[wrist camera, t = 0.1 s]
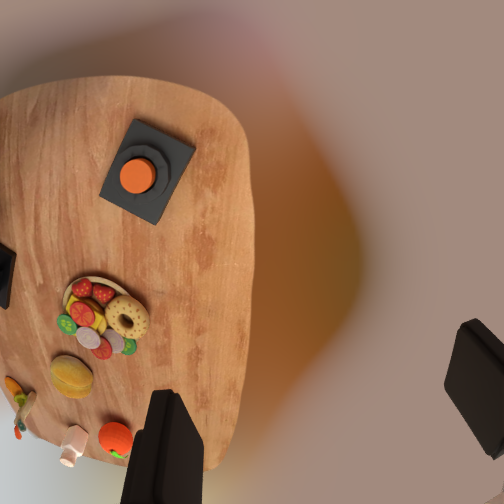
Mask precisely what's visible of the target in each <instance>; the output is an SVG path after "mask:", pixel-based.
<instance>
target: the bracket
mask: <svg viewBox="0 0 504 504" xmlns="http://www.w3.org/2000/svg"><path fill="white" fill-rule="evenodd" d="M15 259H16V253H14V252H13V251H11V250H10V249H8V248H7V247H5V246H4V245H2V244H1V243H0V306H1V307H2V308H4V309H5V310H6V309H7V308H8V307H9V302H10V293H11V285H12V278H13V271H14V265H15Z"/></svg>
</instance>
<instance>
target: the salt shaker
mask: <svg viewBox="0 0 504 504" xmlns="http://www.w3.org/2000/svg"><path fill="white" fill-rule="evenodd" d="M88 437H89V434H88V433H87V432H85V431H84V430H83V429H82V428H81V427H79V426H78V425H75V426H71V427H69V428H68V429H67V432H66V434H65V437H64V439H63V442H62V444H61V448H62V449H63V450H64V451H63V453H62V455H61V458H60V461H61V462H62V463H63V464H64V465H66V466H69V467H73V466H74V465H75V462H76V457H78V456H81V455H82V454H83V451H84V448H85V446H86V443H87V440H88Z"/></svg>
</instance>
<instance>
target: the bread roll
mask: <svg viewBox="0 0 504 504" xmlns="http://www.w3.org/2000/svg"><path fill="white" fill-rule="evenodd" d="M50 368H51V379H52V382H53V384H54V386H55V387H56V388H57V390H58V391H59V392H60V393H62V394H64V395H65V396H67V397H71V398H84V397H86V396H87V395H88V394H89V393H90V391H91V382H92V381H93V375H92V373H91V371H90V370H89V369H88V368H87V367H86V366H85V365H84V364H83V363H82V362H81V361H80V360H79V359H77V358H75V357H72V356H68V355H63V356H58V357H56V358H55V359H54V360H53V361H52V363H51V365H50Z"/></svg>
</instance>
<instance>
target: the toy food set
mask: <svg viewBox="0 0 504 504" xmlns="http://www.w3.org/2000/svg"><path fill="white" fill-rule="evenodd" d="M63 312H64V314H61V315H59V316H58V318H57V324H58V326H59V328H60V329H61V331H63V332H64V333H65V334H68V335H74V336H76V337H77V339H78V341H79V342H80V344H82V345H83V346H84V347H86V348H88V349H91V351H92V353H93V354H94V355H95V356H96V357H97V358H99V359H102V360H106V359H108V358H109V357H110V356H111V354H112V353H120V352H121V353H123V354H125V355H131V354H133V353H134V352H135V351H136V348H137V345H136V342H137V341H138V340H139V338H140V337H142V336H143V335H144V334H145V333H146V332H147V330H148V328H149V325H150V319H149V315H148V313H147V311H146V309H145V308H144V307H143V305H142V304H141V303H140V302H138V301H137V300H136V299H134V298H132V297H131V296H130V295H129V294H128V292H126V291H125V290H124V289H123V288H122V287H120V286H119V285H118V284H116V283H114V282H112V281H110V280H108V279H105V278H101V277H95V276H88V277H83V278H79V279H77V280H75V281H74V282H73V283H71V284H70V285H69V286H68V288H67V289H66V291H65V293H64V297H63Z"/></svg>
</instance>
